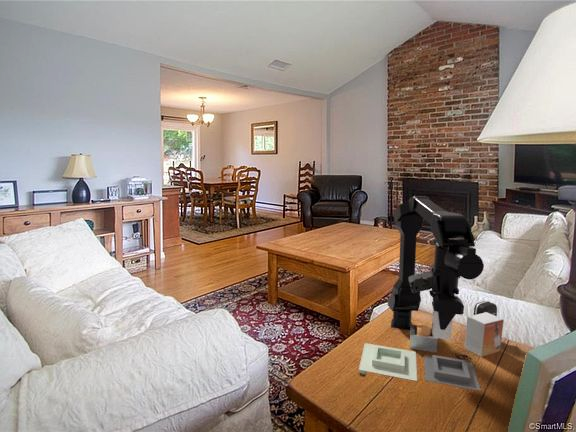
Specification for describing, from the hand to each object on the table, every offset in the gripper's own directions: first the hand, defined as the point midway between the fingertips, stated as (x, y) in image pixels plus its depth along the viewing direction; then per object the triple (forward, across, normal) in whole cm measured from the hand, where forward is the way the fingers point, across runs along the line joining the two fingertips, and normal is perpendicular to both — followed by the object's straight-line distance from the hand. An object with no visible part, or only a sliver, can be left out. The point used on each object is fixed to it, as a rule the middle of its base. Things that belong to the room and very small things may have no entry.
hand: (441, 325), depth 88 cm
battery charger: (+13, -24, +15) cm, 31 cm away
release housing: (+13, -12, -3) cm, 18 cm away
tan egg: (+12, -12, -3) cm, 17 cm away
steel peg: (+2, 0, 0) cm, 2 cm away
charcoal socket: (+13, 0, +3) cm, 13 cm away
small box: (+13, -15, +13) cm, 24 cm away
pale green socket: (+13, 0, -12) cm, 18 cm away
